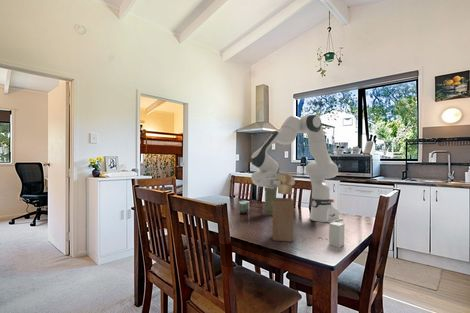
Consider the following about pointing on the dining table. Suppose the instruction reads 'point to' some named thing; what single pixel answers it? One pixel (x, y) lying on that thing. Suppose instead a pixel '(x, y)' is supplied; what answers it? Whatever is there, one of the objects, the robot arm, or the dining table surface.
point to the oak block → (285, 183)
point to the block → (283, 219)
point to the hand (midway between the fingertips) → (286, 182)
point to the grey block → (336, 234)
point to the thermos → (269, 200)
